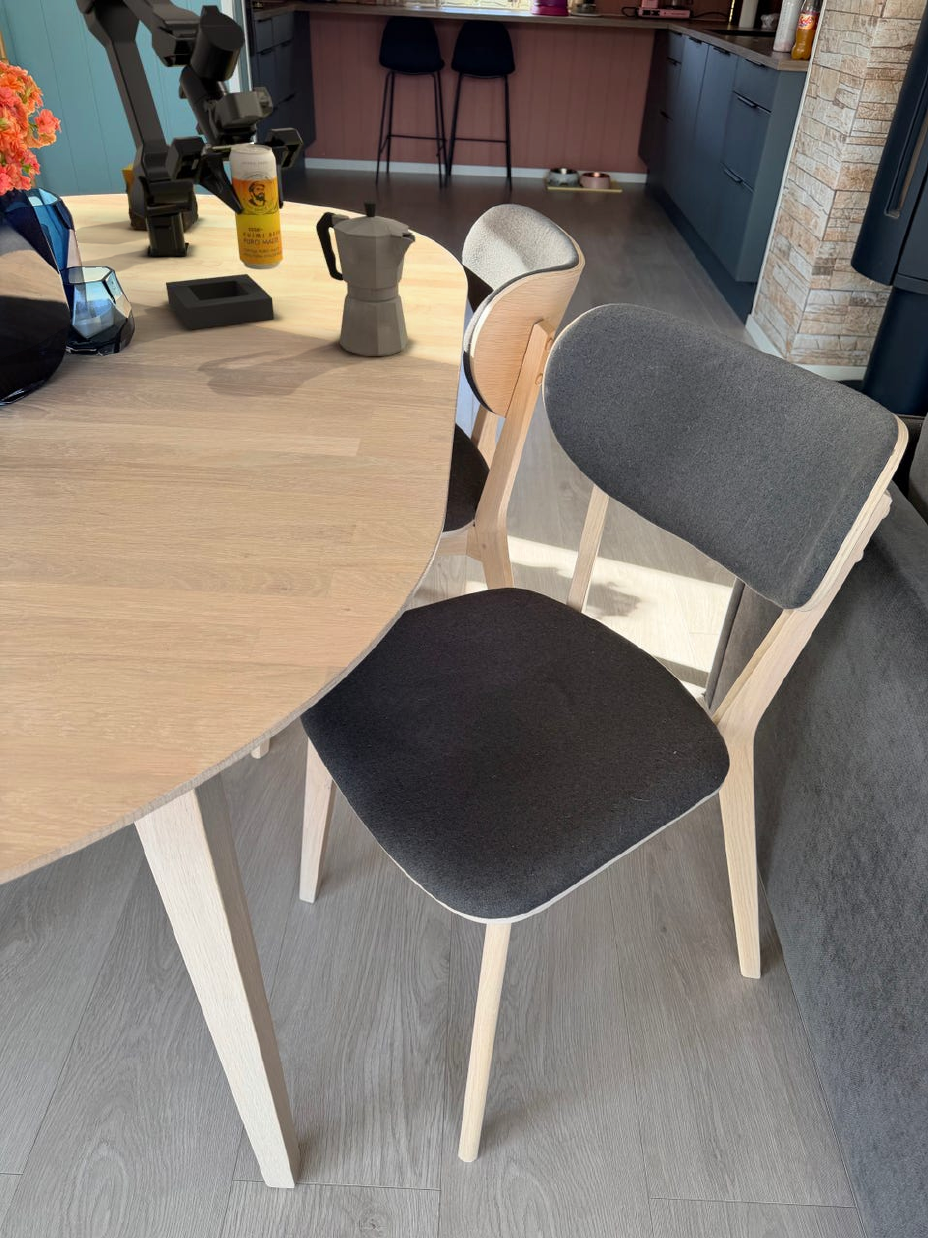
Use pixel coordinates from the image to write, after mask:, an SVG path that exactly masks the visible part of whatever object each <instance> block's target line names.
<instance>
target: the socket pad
mask: <svg viewBox="0 0 928 1238" xmlns="http://www.w3.org/2000/svg"><path fill="white" fill-rule="evenodd" d="M165 287H166V293H167V300H168V304H169V306H171V308H172V309H173V311H174V312H175V313H176V314H177V316H178V317H179V318H180V320H181V321H182V322H183V323H184V325H185V326H186V327H187V328H188V330H189V331H191V330H198V329H207V328H215V327H222V326H231V325H237V324H246V323H254V322H260V321H261V322H262V321H269V320H274V319H275V314H274V304H273V297H272V296H271V295H270V294H269V293H267V291H266V290H264V288H263V287H261V285H259V284H258V283H257V282H256V281H255V280H254V279H253V277H251V276H250V275H249V274H248V273H244V274H233V275H224V276H214V277H206V278H205V277H204V278H195V279H185V280H177V281H168V282H165Z"/></svg>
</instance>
